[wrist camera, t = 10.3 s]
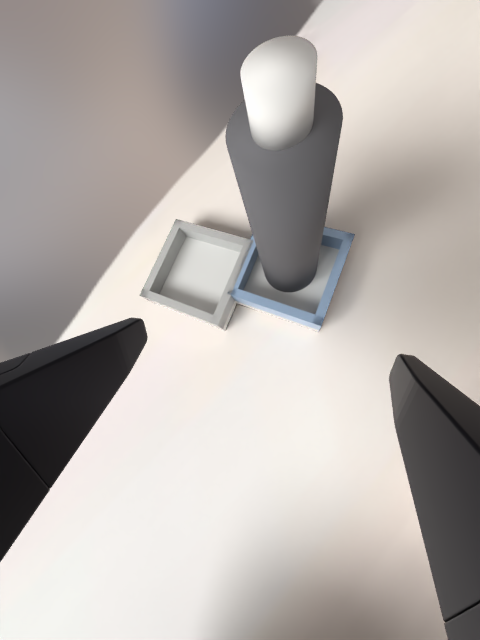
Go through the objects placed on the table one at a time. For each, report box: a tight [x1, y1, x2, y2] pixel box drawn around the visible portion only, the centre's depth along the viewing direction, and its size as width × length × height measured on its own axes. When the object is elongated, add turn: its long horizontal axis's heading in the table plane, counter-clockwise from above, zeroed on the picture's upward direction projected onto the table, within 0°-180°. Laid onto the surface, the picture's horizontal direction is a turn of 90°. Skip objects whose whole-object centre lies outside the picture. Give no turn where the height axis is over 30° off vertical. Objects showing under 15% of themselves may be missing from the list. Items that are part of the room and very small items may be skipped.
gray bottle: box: [226, 36, 343, 292], centre depth 15 cm, size 4×4×15 cm
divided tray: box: [140, 219, 355, 332], centre depth 23 cm, size 11×16×2 cm
